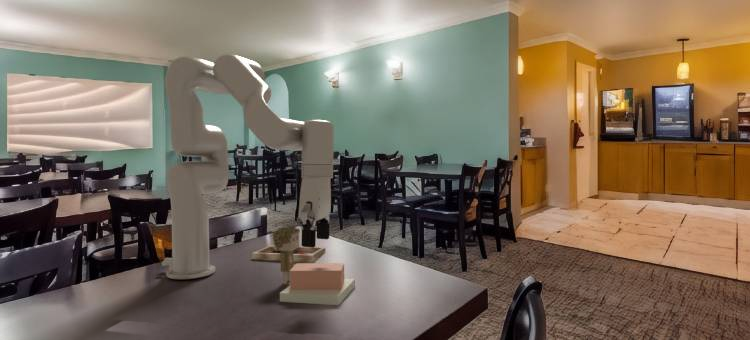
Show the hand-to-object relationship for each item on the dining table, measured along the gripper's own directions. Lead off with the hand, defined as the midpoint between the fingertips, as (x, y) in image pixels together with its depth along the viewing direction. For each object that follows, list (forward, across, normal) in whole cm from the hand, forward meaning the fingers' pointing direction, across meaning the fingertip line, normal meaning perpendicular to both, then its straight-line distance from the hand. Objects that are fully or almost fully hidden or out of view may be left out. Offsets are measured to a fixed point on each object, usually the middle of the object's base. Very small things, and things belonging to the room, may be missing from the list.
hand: (315, 242), depth 99 cm
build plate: (+12, 0, +1) cm, 12 cm away
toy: (+13, -8, -11) cm, 19 cm away
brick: (+10, 0, +1) cm, 10 cm away
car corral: (+13, -30, -20) cm, 38 cm away
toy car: (+14, -29, -20) cm, 38 cm away
